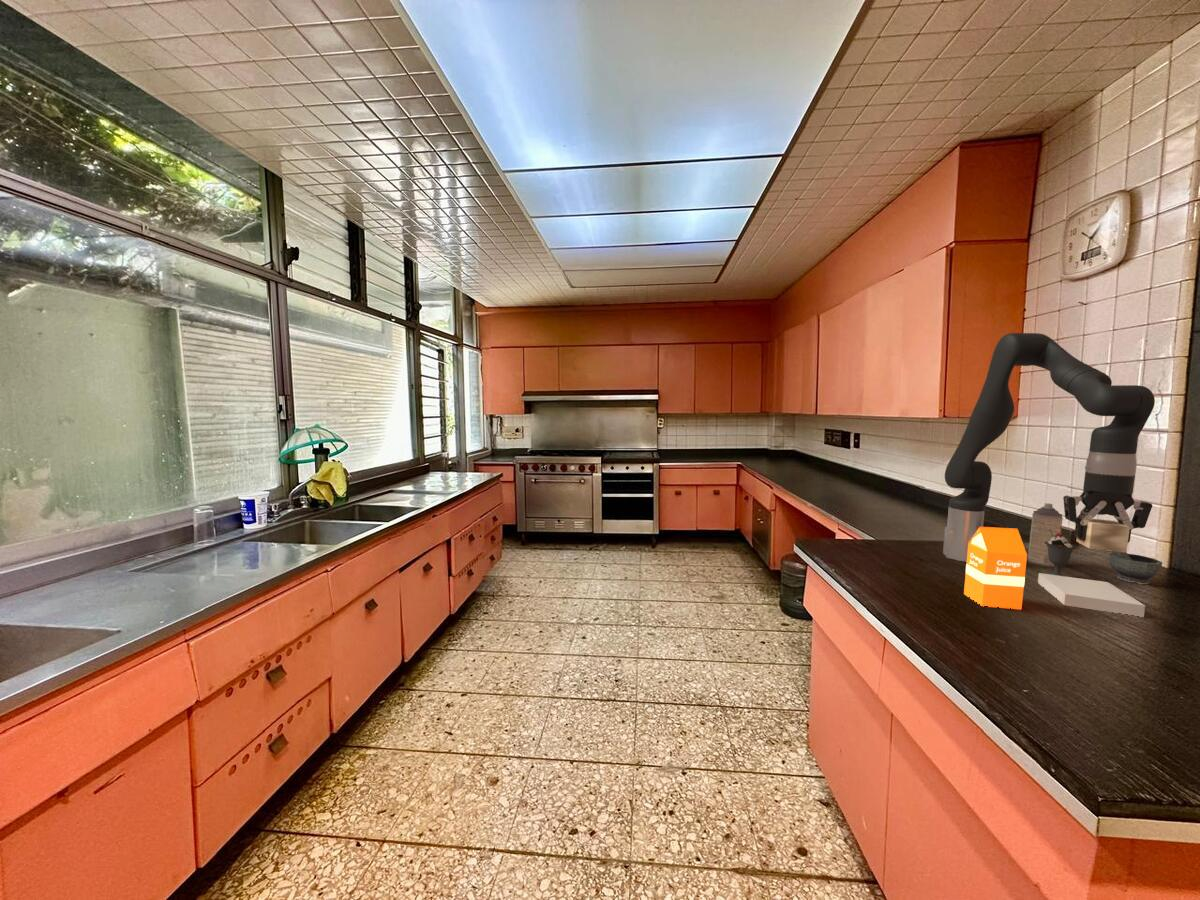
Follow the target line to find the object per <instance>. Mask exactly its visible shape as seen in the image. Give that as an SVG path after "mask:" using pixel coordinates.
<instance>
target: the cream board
mask: <svg viewBox="0 0 1200 900" xmlns="http://www.w3.org/2000/svg"><path fill="white" fill-rule="evenodd" d="M1037 577H1038V578H1037V583H1038V584H1039V585H1040V587H1042V588H1043V587H1044V588H1043V589H1045V591H1047V592H1048V593H1049V594H1051V596H1053V597H1055V599H1056V598H1057V601H1059V602H1060V603H1061V604H1062V605H1064V606H1068V607H1074V608H1081V609H1088V610H1094V611H1100V612H1105V611H1106V613H1112V612H1113V613H1112V614H1118V613H1121V614H1120V615H1125V614H1128V615H1127V616H1131V615H1134V616H1133V617H1137V616H1139V617H1140V618H1145V609H1146V605H1145V604H1143V603H1141V602H1140V601H1138V600H1137V599H1135V598H1134V597H1132V596H1131V595H1129V594H1128V593H1125V592H1124V591H1123V590H1121V589H1120V588H1118V587H1117V586H1115V585H1113V584H1112V583H1110V582H1108V581H1102V580H1094V579H1087V578H1081V577H1080V578H1078V577H1071V576H1065V575H1063V576H1058V575H1050V574H1046V573H1042V572H1041V573H1040V572H1039V573H1038V576H1037ZM1139 617H1138V618H1139Z"/></svg>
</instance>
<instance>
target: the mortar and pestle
mask: <svg viewBox="0 0 1200 900" xmlns="http://www.w3.org/2000/svg"><path fill="white" fill-rule="evenodd" d="M1110 552H1111V553H1109V555H1108V556H1109V557H1108V559H1109V560H1108V561H1109V565H1110V567H1111V568H1112V569H1113V570H1114V571H1115V572H1116V573H1117V574H1116V576H1118V577H1120V578H1122V579H1126V580H1129V581H1135V582H1140V583H1148V582H1149V583H1150V579H1151V578H1154V577H1155V576H1156V575H1157V574H1159V573H1160V571H1161V569H1162V566H1163V562H1162V561H1161V560H1158V559H1156V558H1154V557H1153V558H1152V557H1148V556H1145V555H1140V554H1135V553H1127V552H1117V551H1110Z"/></svg>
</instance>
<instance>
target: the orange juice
mask: <svg viewBox="0 0 1200 900" xmlns="http://www.w3.org/2000/svg"><path fill="white" fill-rule="evenodd" d="M1018 529H1019V528H1012V527H1011V528H1009V527H993V526H991V527H990V526H983V527H979V529H978V530H977V531H976V533H975V534H974V536H973V537H972V539H971V540H970V541H969V543H968V554H967V562H966V565H965V576H964V577H965V579H964V588H963V595H965V596H966V597H967V598H969V597H970V598H969V599H970V600H972V601H973V600H974V601H973V602H975V603H976V602H977V604H978V605H979V604H980V605H979V606H981V607H984V606H988V607H987V608H997V607H999V608H1000V609H1010V608H1011V610H1012V609H1013V610H1022V605H1023V598H1024V590H1025V588H1024V587H1025V581H1026V580H1025V579H1026V569H1027V562H1028V553H1027V551H1026V549H1025V545H1024V542H1023V540H1022V537H1021V534H1020V531H1019V530H1018Z"/></svg>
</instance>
